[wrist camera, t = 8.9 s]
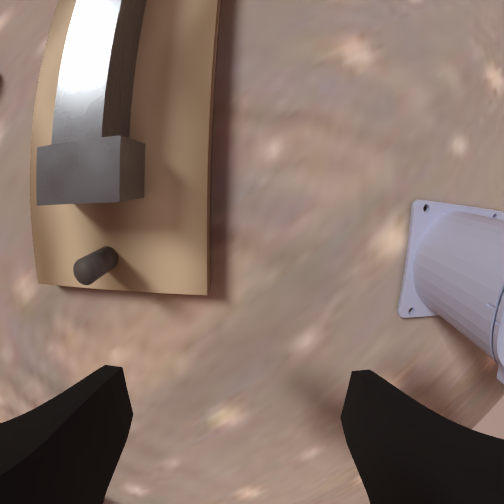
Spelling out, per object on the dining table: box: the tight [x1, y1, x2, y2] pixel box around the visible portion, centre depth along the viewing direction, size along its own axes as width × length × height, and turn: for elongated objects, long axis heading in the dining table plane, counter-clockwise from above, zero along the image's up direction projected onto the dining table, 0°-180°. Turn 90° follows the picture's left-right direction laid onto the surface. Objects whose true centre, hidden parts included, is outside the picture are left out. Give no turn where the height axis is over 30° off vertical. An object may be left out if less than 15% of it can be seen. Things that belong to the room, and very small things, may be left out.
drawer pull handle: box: [36, 0, 147, 206], centre depth 12 cm, size 5×21×4 cm, turn 178°
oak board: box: [30, 0, 221, 295], centre depth 13 cm, size 12×32×4 cm, turn 178°
